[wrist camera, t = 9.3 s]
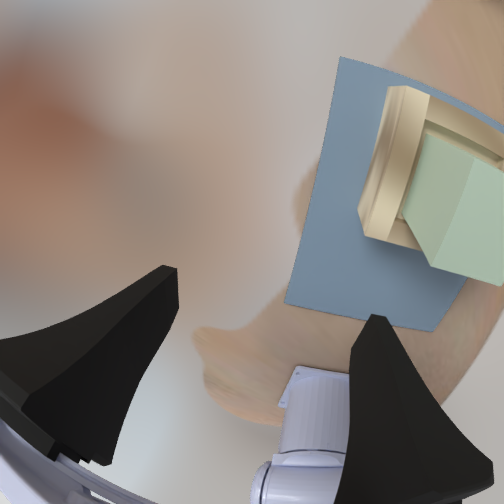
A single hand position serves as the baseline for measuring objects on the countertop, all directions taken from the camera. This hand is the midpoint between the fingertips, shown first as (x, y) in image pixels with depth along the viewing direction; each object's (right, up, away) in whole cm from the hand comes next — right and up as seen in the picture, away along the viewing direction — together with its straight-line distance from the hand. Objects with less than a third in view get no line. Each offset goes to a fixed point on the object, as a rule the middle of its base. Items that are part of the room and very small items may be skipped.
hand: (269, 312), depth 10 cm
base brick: (+10, +7, +4) cm, 13 cm away
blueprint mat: (+10, +4, +7) cm, 13 cm away
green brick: (+10, +6, +2) cm, 11 cm away
